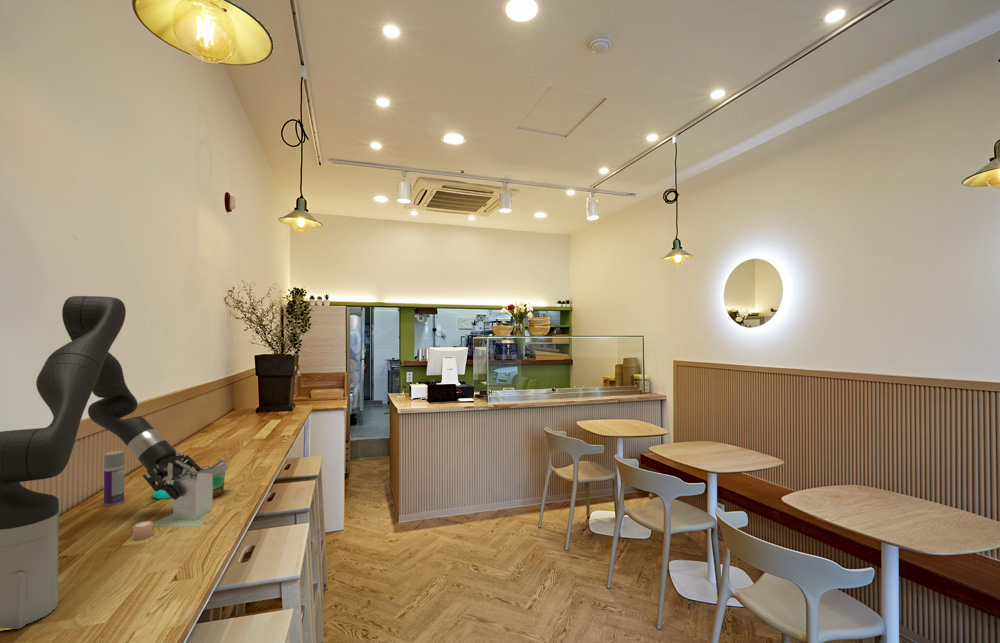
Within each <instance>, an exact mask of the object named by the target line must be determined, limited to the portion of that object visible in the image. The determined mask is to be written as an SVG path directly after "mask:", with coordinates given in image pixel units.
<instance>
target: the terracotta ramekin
mask: <svg viewBox="0 0 1000 643" xmlns="http://www.w3.org/2000/svg"><path fill="white" fill-rule="evenodd" d="M153 523H154V521H152V520H147V521H146V520H145V521H140V522H137V523H135V524H134V525H133V527H132V529H133V530H132V534H133V537H132V539H133V540H134V541H143V540H146V539H149V538H151V537H152V536H153V535H154V533H153V532H154V531H153V528H154V526H153Z"/></svg>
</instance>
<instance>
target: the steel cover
mask: <svg viewBox="0 0 1000 643" xmlns="http://www.w3.org/2000/svg"><path fill="white" fill-rule="evenodd" d="M173 484H174V485H175V486H176V487H177V488H178V490H179V491H180V492H181V493H182V495H181V496H180V497H179V498H178V499H176V500H174V499H173V498H172V505H173V506H172V512H173V520H197V519H199V518H201V517H203V516H204V515H206V514H208V513H210V512H211V511H212V506H213V499H212V494H213V474H206V473H197V472H191V473H190V474H188V475H186V476H183V477H181V478H179V479H176V480H174V481H173Z"/></svg>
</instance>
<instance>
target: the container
mask: <svg viewBox="0 0 1000 643" xmlns="http://www.w3.org/2000/svg"><path fill="white" fill-rule="evenodd" d="M103 462H104V463H103V466H104V467H103V505H104V506H105V507H108V506H110V505H111V506H115V505H119V503H120V504H122V503H123V502H125V451H124V450H114V451H109V452H105V453H104V460H103Z"/></svg>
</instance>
